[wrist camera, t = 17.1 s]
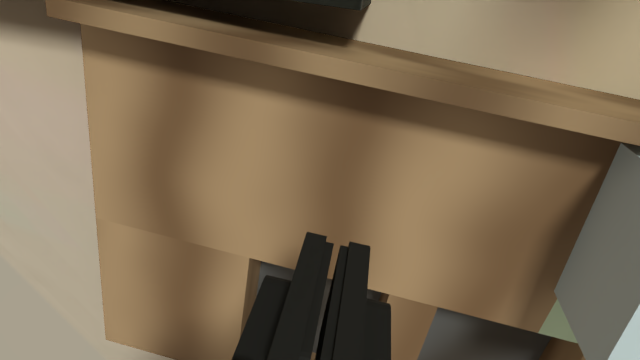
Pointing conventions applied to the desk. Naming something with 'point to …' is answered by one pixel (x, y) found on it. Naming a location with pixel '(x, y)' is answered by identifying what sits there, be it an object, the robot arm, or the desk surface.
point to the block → (607, 267)
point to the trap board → (331, 180)
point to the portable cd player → (341, 3)
